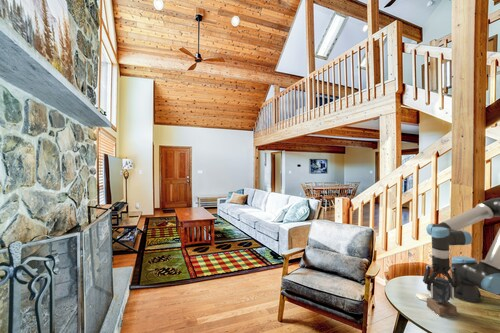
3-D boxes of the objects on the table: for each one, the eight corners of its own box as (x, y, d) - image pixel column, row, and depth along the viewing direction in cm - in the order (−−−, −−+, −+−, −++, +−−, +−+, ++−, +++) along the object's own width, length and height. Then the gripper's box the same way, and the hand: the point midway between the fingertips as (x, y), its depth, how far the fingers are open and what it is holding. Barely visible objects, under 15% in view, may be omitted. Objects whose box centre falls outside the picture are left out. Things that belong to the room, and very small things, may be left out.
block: (442, 306, 135) (442, 297, 135) (456, 316, 126) (456, 307, 126) (426, 306, 135) (426, 298, 135) (439, 317, 126) (439, 307, 126)
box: (444, 304, 126) (444, 284, 126) (432, 299, 131) (431, 280, 131) (450, 299, 131) (450, 280, 131) (437, 294, 135) (437, 276, 135)
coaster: (430, 294, 147) (430, 293, 147) (438, 302, 139) (438, 301, 139) (413, 293, 149) (413, 292, 149) (420, 301, 141) (420, 300, 141)
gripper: (459, 255, 132) (460, 295, 132) (414, 252, 137) (415, 291, 137) (468, 260, 125) (469, 303, 125) (421, 257, 130) (421, 299, 130)
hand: (441, 297), depth 131 cm, fingers closed on box, 9 cm apart
